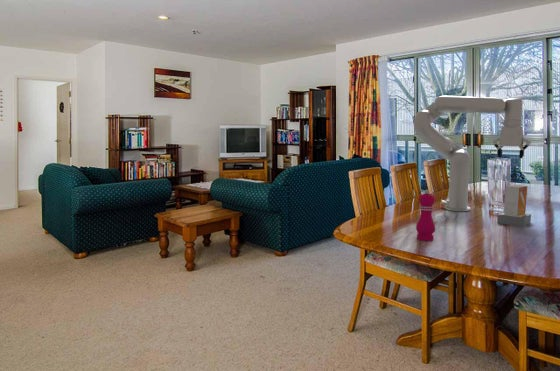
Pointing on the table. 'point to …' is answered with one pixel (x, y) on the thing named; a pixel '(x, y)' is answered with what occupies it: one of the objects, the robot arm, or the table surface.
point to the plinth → (514, 219)
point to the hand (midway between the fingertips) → (510, 157)
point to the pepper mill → (426, 218)
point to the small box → (515, 200)
